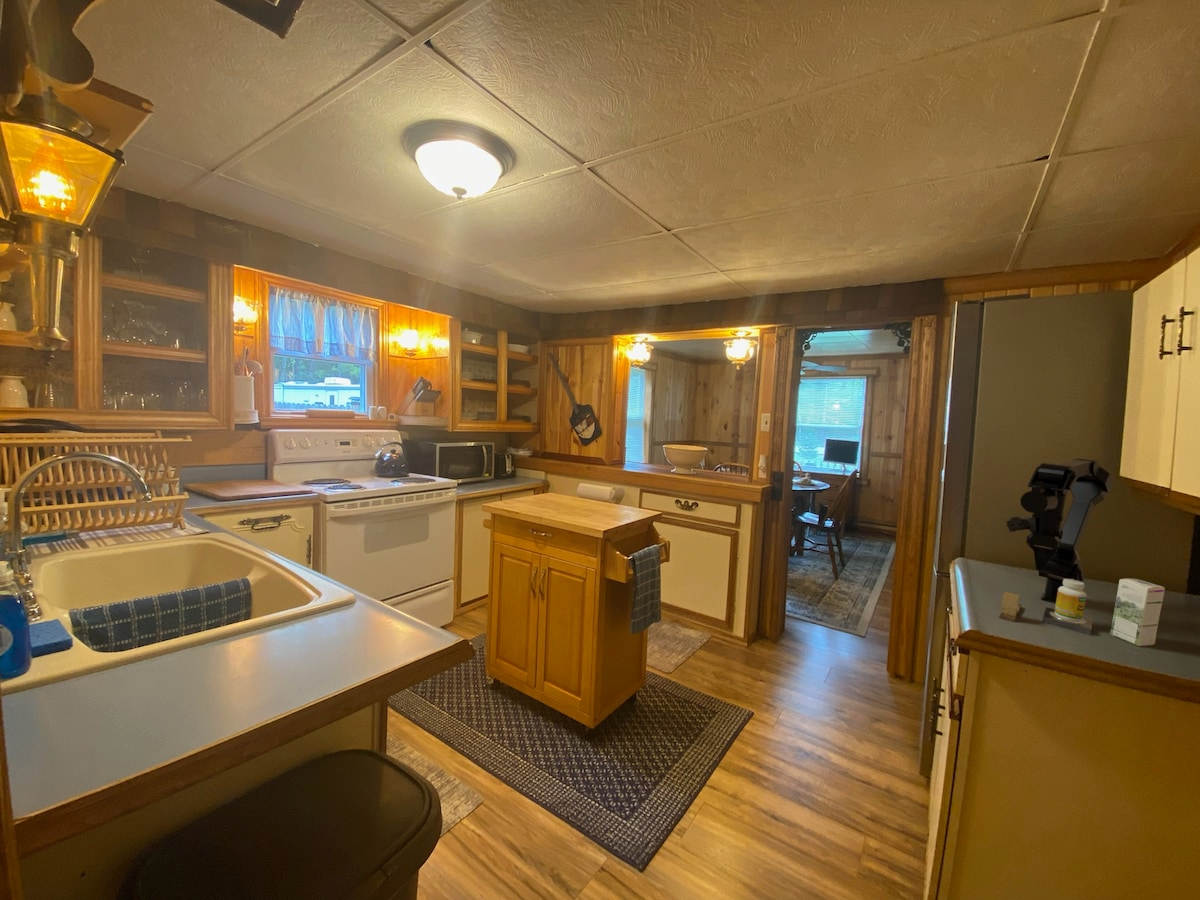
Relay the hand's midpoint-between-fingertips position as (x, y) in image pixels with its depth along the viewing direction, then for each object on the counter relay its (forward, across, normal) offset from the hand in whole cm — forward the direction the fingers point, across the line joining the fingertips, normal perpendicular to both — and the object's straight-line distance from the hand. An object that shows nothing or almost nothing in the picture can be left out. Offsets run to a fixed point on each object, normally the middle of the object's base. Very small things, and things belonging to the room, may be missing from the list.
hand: (1040, 566), depth 137 cm
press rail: (+12, +9, -4) cm, 16 cm away
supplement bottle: (+11, +5, +7) cm, 14 cm away
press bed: (+12, +5, +7) cm, 15 cm away
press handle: (+11, +14, -4) cm, 18 cm away
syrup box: (+12, +4, +19) cm, 23 cm away
